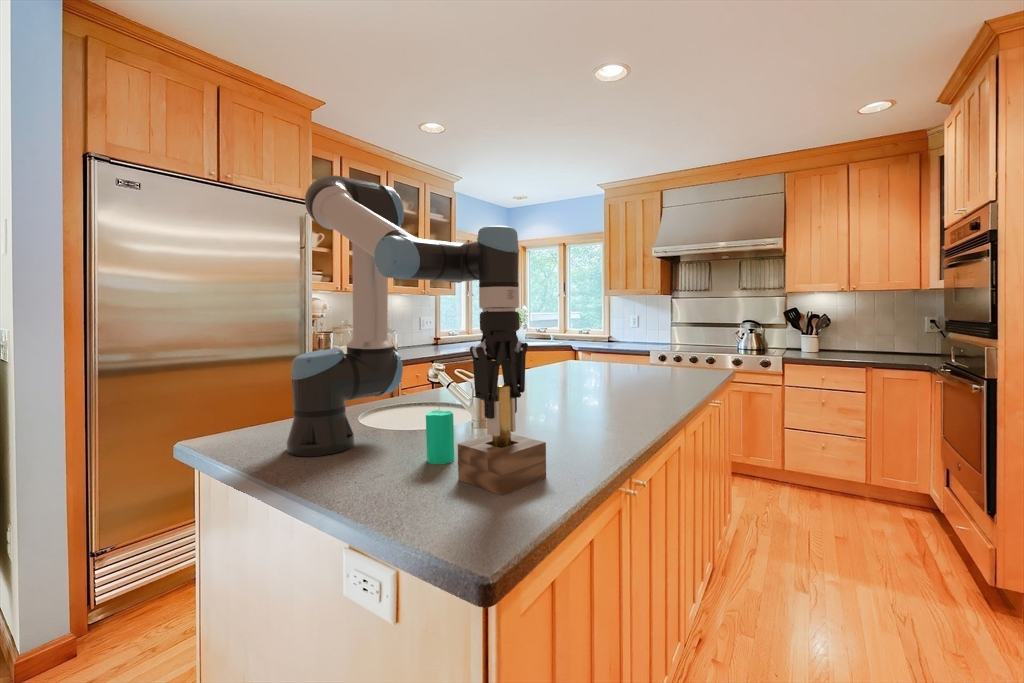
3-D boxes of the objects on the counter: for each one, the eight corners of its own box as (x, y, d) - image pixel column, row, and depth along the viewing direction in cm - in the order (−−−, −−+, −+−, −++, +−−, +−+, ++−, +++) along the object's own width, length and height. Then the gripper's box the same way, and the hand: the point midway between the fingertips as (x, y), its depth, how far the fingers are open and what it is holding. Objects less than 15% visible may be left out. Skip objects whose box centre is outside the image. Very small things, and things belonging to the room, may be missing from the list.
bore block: (458, 479, 93) (457, 443, 93) (502, 464, 102) (502, 431, 102) (502, 495, 85) (501, 456, 85) (546, 477, 94) (545, 442, 93)
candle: (449, 465, 102) (448, 408, 102) (422, 463, 104) (421, 408, 103) (458, 456, 108) (456, 403, 107) (432, 455, 109) (431, 402, 109)
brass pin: (488, 458, 93) (487, 386, 92) (502, 454, 96) (500, 383, 95) (501, 462, 91) (500, 388, 90) (515, 457, 93) (514, 385, 92)
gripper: (479, 310, 83) (482, 445, 84) (543, 309, 95) (544, 427, 96) (452, 311, 88) (455, 437, 90) (515, 310, 100) (517, 422, 102)
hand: (501, 432), depth 93 cm, fingers closed on brass pin, 3 cm apart
